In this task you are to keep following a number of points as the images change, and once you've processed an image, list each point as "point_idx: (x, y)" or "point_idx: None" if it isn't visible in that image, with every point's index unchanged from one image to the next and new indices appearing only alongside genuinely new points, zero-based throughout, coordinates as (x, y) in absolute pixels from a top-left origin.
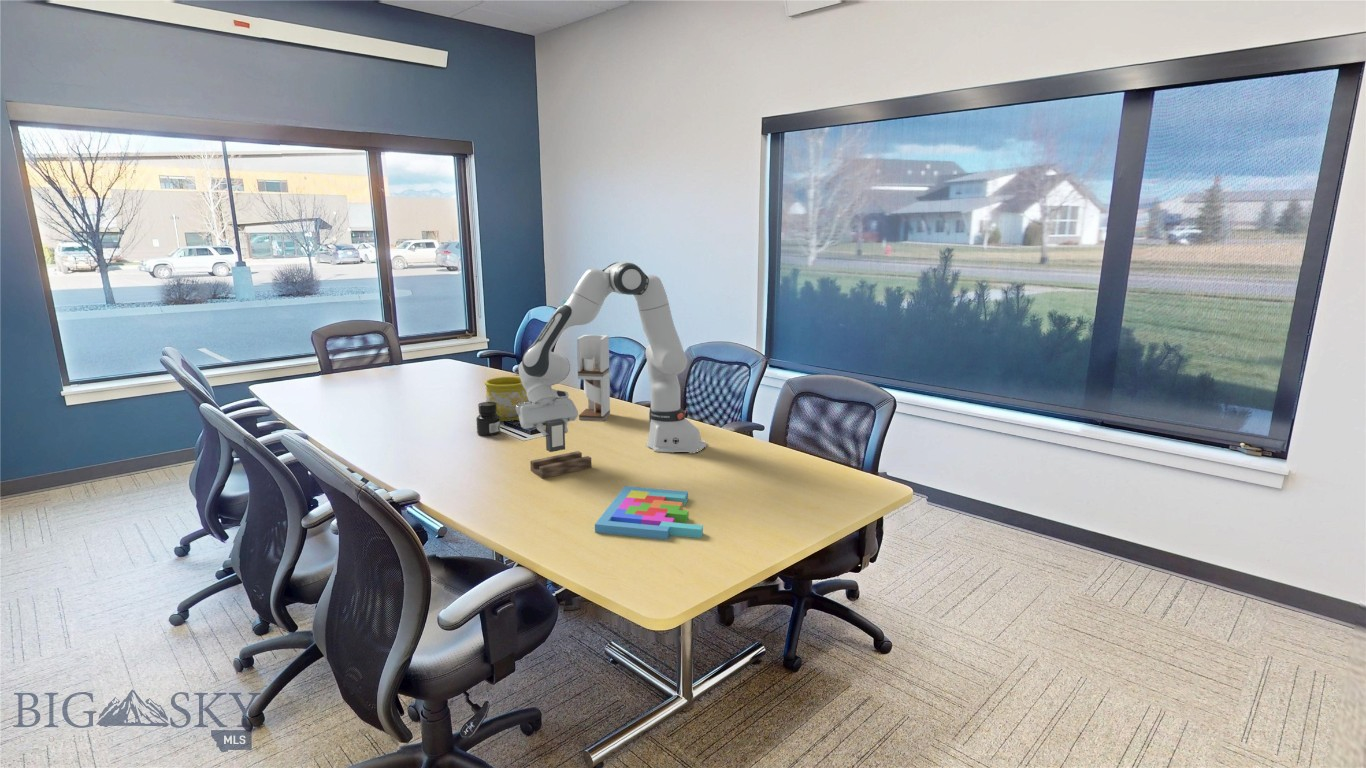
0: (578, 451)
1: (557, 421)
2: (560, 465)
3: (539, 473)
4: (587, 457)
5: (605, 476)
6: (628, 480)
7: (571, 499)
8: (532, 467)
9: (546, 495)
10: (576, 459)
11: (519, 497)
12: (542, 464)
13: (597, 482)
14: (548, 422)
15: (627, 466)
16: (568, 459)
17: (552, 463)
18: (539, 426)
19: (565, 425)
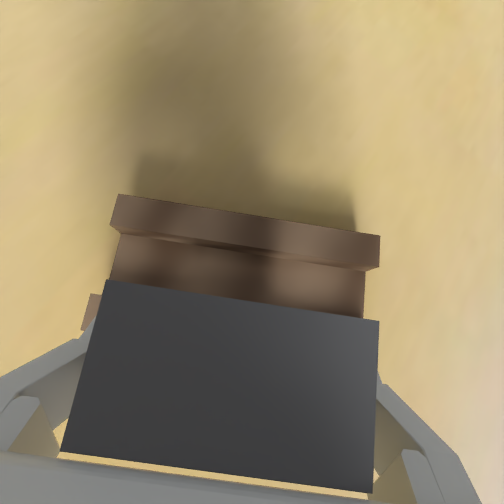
0: (88, 322)
1: (215, 326)
2: (285, 222)
3: (363, 271)
4: (129, 208)
5: (168, 106)
6: (141, 31)
7: (375, 45)
8: None
9: (420, 115)
10: (187, 223)
11: (497, 159)
12: None
13: (229, 86)
14: (367, 376)
15: (26, 124)
16: None
17: None
18: (448, 450)
19: (79, 349)
